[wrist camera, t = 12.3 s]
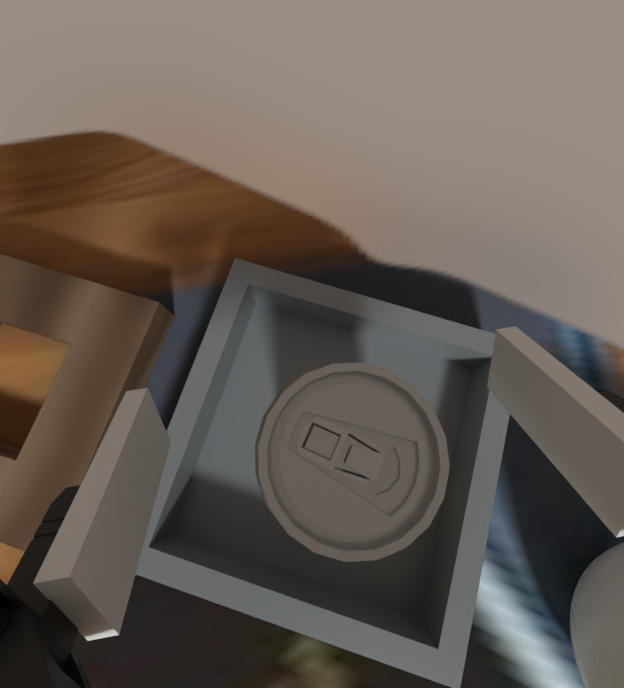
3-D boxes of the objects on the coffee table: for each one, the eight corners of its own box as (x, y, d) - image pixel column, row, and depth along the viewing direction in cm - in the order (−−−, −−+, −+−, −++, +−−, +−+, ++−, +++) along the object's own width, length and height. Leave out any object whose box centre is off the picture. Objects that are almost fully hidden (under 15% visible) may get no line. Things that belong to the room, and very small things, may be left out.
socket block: (-143, 466, 22) (-199, 470, 19) (-22, 255, 25) (-57, 236, 23) (78, 545, 21) (47, 559, 18) (174, 315, 24) (159, 302, 22)
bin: (149, 542, 21) (113, 566, 17) (246, 286, 25) (234, 258, 21) (430, 640, 20) (459, 690, 16) (487, 357, 24) (522, 342, 20)
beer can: (266, 471, 21) (211, 513, 9) (306, 383, 22) (301, 323, 11) (355, 513, 20) (415, 615, 9) (391, 421, 22) (486, 402, 10)
